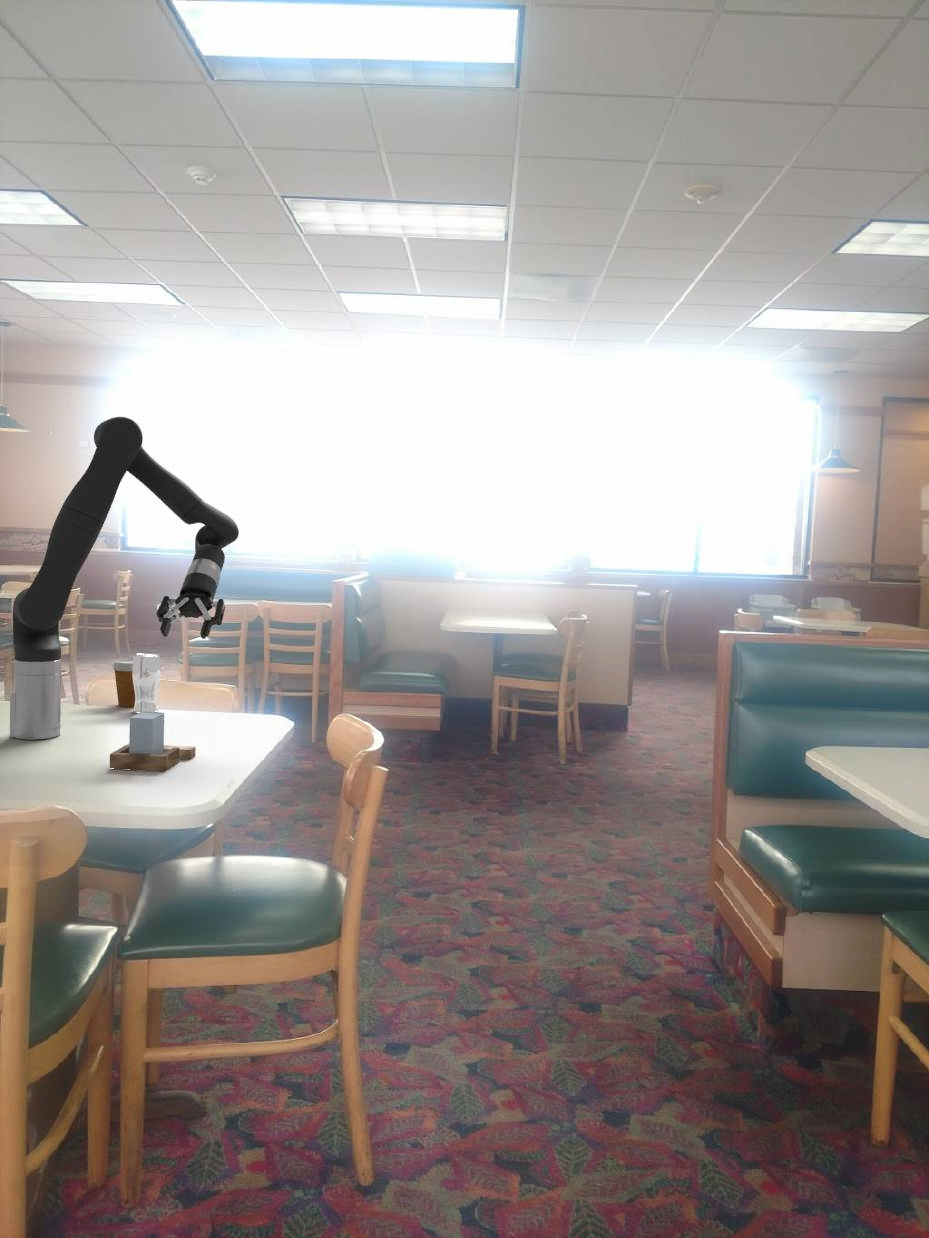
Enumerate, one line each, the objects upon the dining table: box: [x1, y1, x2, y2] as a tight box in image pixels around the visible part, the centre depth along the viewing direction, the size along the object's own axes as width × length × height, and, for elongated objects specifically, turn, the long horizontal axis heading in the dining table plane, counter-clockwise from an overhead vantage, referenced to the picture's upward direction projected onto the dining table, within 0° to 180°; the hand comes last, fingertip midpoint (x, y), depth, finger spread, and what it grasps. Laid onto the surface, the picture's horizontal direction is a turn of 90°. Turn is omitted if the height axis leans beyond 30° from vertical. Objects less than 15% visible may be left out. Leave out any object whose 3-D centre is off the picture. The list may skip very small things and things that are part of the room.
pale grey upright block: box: [128, 711, 165, 755], centre depth 165 cm, size 4×6×10 cm
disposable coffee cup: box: [112, 658, 135, 708], centre depth 225 cm, size 10×10×12 cm
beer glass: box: [132, 653, 162, 713], centre depth 216 cm, size 7×7×15 cm
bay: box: [109, 744, 180, 772], centre depth 164 cm, size 11×8×3 cm
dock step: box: [126, 743, 196, 760], centre depth 172 cm, size 14×3×2 cm, turn 90°
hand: (183, 635), depth 184 cm, fingers open, 8 cm apart
